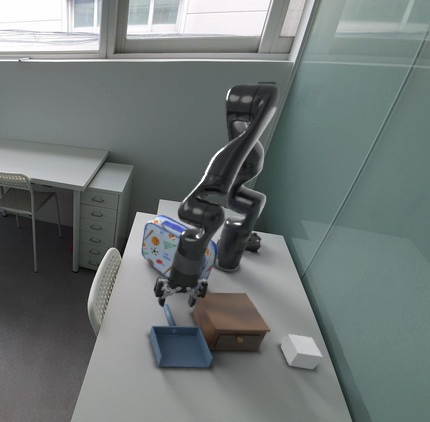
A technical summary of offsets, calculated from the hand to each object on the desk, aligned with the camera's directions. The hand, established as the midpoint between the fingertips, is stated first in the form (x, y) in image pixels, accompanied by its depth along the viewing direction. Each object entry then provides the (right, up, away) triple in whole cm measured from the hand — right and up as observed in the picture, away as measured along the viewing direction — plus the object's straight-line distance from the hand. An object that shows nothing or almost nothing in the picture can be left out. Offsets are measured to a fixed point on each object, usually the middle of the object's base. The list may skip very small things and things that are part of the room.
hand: (175, 304), depth 92 cm
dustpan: (0, -11, +3) cm, 11 cm away
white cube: (+33, -14, -4) cm, 36 cm away
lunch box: (+9, +4, +27) cm, 28 cm away
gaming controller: (+46, +13, +40) cm, 62 cm away
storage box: (+16, -9, +4) cm, 19 cm away
